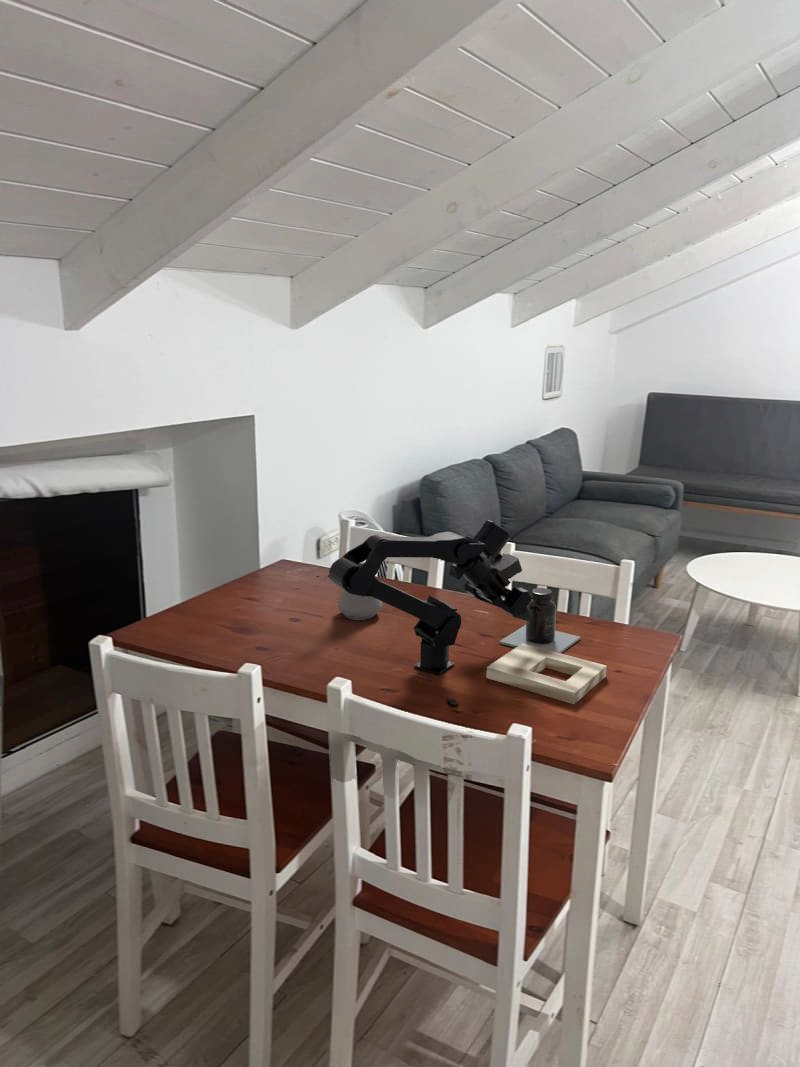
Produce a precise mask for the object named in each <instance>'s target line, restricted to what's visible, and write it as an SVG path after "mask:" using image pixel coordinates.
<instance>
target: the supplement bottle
mask: <svg viewBox="0 0 800 1067" xmlns="http://www.w3.org/2000/svg"><path fill="white" fill-rule="evenodd" d="M531 595H532V596H533V599H532V600H531V602H530V603H529V604H528V605H527V607H528V610H529V613H530V616H531V619H530V620H529V621H525V625H526V638H527V640H528V641H530V642H533V643H537V644H547V643H551V642H552V641H553V640H554V639H555V631H556V623H557V621H556V620H557V619H556V617H557V605H556V603H555V602H554V601H553V599H554V598H553V590H551V589H550V588H546V587H545V588H544V587H536V588H533V589H531Z"/></svg>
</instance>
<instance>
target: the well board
mask: <svg viewBox="0 0 800 1067" xmlns="http://www.w3.org/2000/svg"><path fill="white" fill-rule="evenodd" d="M607 666H608V665H605V664H603V663H602V664H601V663H599V662H593V661H590V660H587V659H583V658H579V657H575V656H571V655H567V654H563V653H557V652H553V651H549V650H546V649H542V648H538V647H534V646H531V645H527V644H523V643H522V644H521V645H519V646H518V647H516V648H513V649H512V650H511V651H509V652H507V653H506V654H504V655H503V656H501V657H499V658H498V659H497V660H495V661H493V662H492V663H490V664H489V665H488V666H486V679H489V680H491V681H492V680H493V681H495V682H499V683H501V684H502V683H503V684H505V685H508V686H512V687H515V688H519V689H522V690H526V691H528V692H532V693H535V694H538V695H542V696H545V697H548V698H552V699H555V700H558V701H562V702H565V703H568V704H571V705H575V704H577V703H578V702H579V701H580V700H581V699H582V698H583V697H584V696H585V695H587V694H588V693H589V692H590V691H591V690H592V689H594V687H596V686H597V685H598V684H599V683H601V682H602V680H604V679H605V678H606V677H607ZM545 669H550V670H553V671H556V672H560V673H563V674H567V675H571V676H570V677H569V678H568V679H566V680H562V679H559V678H555V677H551V676H548V675H545V674H542V673H541V672H542V671H543V670H545Z"/></svg>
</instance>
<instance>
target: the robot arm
mask: <svg viewBox="0 0 800 1067" xmlns="http://www.w3.org/2000/svg"><path fill="white" fill-rule="evenodd" d="M511 538H512V537H511V535H510V534H509V533H508V531H506V530H504V529H503V528H501V527H500V526H499V525H496V523H495V522H494V521H492V520H489V519H487V520H485V522H484V523H483V525H482V526H481V528H480V529H479V531H478V532H477V533H476V534H475V535H474V537H473V538H471V537H469V536H467V535H459V534H457V533H454V532H453V531H444V532H439V533H438V532H437V533H435V534H431V535H430V536H426V537H425V536H423V537H422V536H385V535H381V536H380V535H377V534H374V535H369V537H368V538H366V539H365V540H364V541H363V542H362V543H361V544H359V545H357V546H355V547H353V548H352V549H350V550H348V551H346V553H344V554H343V556H341V557H340V558H338V559H336V560H335V561H334V562H332V564H331V565H330V567H329V571H328V575H329V577H330V578H329V577H328V578H329V580H330V582H331V581H332V582H331V583H333V585H336V586H337V587H339V588H340V589H342V591H343V590H345V591H346V592H348V593H350V594H354V595H358V596H362V597H373V598H376V599H378V600H380V601H382V603H385V605H388V606H391V607H393V608H394V609H395V608H396V609H397V610H401V611H402V612H404V613H406V614H409V615H411V616H413V617H415V618H417V620H418V622H417V623H416V624H415V626H413V631H414V633H415V636H417V637H419V638H420V639H421V642H420V645H419V646H420V652H419V654H420V657H419V658H420V659H419V661H418V662H417V663H415V664H414V666H413V667H414V668H416V669H419V670H422V671H425V672H428V673H431V674H433V675H434V674H435V675H440V674H442V673H443V672H445V671H447V670H448V669H450V668H451V667H453V666H454V665H455V662H453V661H450V660H449V655H450V653H449V651H450V646H454V645H455V643H456V640H457V636H458V634H459V631H460V628H461V626H462V616H461V614H459V613H458V612H457V611H458V608H456V607H454V606H453V605H450V604H449V603H447V602H445V601H443V600H441V599H437V598H436V597H435V596H432V595H431V594H429V595H427V596H428V597H427V599H426V600H423V599H420V598H418V597H416V596H413V595H412V594H409V593H407V592H405V591H403V590H401V589H399V588H397V587H395V586H392V585H391V584H389V583H386V582H384V581H382V580H380V579H378V578H377V574H378V573H379V570H380V568H381V567H382V565H383V562H384V561H386V559H387V558H430V559H431V558H433V559H437V560H441V561H444V562H447V563H450V564H449V571H448V576H450V577H452V578H454V579H456V580H458V581H459V580H460V579H461V578H462V577H463V578H465V580H466V582H465V584H464V591H465V592H466V593H467V594H468V595H469V596H471V597H473V598H475V599H477V600H479V601H481V602H485V603H487V604H489V605H492V606H495V607H497V608H500V609H501V610H502V611H503V612H504V613H506V615H508V616H510V617H512V618H513V619H519V620H522V621H525V622H526V621H529V620H530V619H531V616H530V613H529V610H528V607H527V605H528V604H529V603H530V602H531V600H532V599H533V596H532V593H531V592H530V591H529V590H527V589H525V588H523V587H520V586H514V587H513V588H512V589H509V588H507V587H509V585H510V584H511V583H512V582H511V581H510V579H512V578H513V577H515V576H516V575H517V574H520V573H522V572H523V568H522V564H521V562H520V559H519V557H518V556H515V555H513V554H510V553H500V552H501V551H502V549H504V548H505V546H506V545H507V543H508V542H509V541H510V539H511ZM484 558H485V559H487V560H490V562H489V563H490V565H489V563H488V562H487V561H486V560H485V559H484ZM359 563H364V564H363V565H361V566H359V565H358V564H359ZM451 563H452V564H451Z"/></svg>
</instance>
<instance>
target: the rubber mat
mask: <svg viewBox="0 0 800 1067" xmlns="http://www.w3.org/2000/svg"><path fill="white" fill-rule="evenodd" d="M580 640H581V636H578V635H574V634H572V633H570V634H569V633H566V632H563V631H560V630H559V631H558V630H555V639H554V640H553V641H552V642H551V643H547V644H537V643H533V642H530V641H528V640H527V638H526V624H524V625H523V626H521V627H520V628H518V629H517V630H515V631H514V632H512V633H510V634H508V635H507V636H506V637H504V638H502V639H500V640H499V644H500V645H504V646H508V647H511V648H513V649H515V648H516V647H518V646H519V645H521V644H522V643H523V644H527V645H531V646H534V647H538V648H542V649H546V650H549V651H553V652H557V653H561V654H563V653H564V652H565V651H566V650H567V649H569V648H570V647H572V646H573V645H575V644H576V643H577V642H579V641H580Z"/></svg>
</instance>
